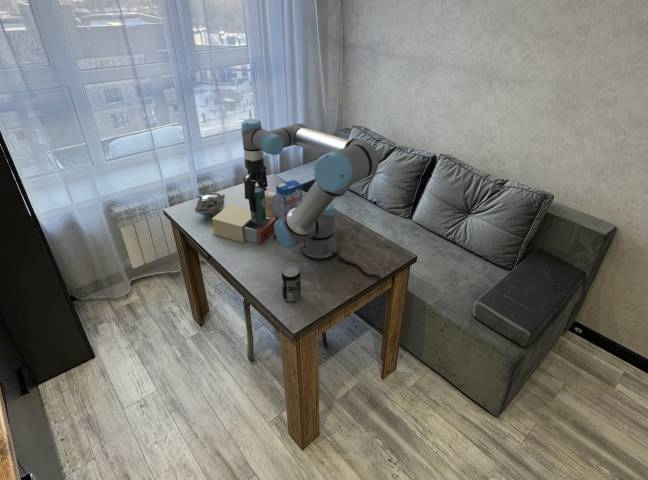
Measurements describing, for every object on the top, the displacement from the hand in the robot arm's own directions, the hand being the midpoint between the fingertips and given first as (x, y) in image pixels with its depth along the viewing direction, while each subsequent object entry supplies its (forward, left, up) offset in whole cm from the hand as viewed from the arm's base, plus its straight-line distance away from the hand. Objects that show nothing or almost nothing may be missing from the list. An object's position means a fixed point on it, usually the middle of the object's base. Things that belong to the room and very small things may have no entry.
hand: (257, 207), depth 171 cm
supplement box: (+6, -17, -16) cm, 24 cm away
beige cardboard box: (+12, 0, -16) cm, 20 cm away
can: (0, 0, -6) cm, 6 cm away
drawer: (0, 0, -15) cm, 15 cm away
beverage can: (-31, +28, -16) cm, 45 cm away
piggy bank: (+31, -6, -16) cm, 35 cm away
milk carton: (-6, -17, -16) cm, 24 cm away
